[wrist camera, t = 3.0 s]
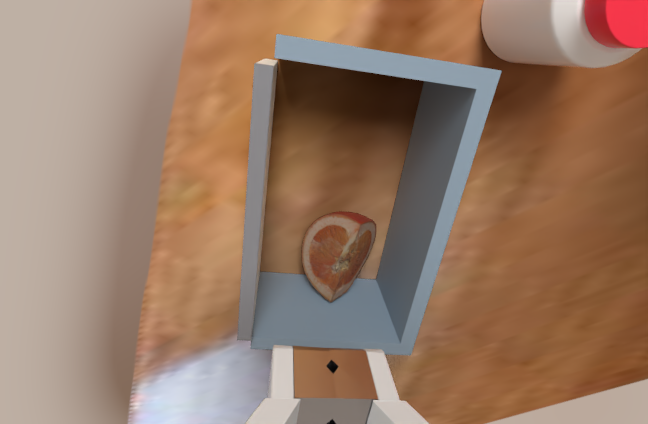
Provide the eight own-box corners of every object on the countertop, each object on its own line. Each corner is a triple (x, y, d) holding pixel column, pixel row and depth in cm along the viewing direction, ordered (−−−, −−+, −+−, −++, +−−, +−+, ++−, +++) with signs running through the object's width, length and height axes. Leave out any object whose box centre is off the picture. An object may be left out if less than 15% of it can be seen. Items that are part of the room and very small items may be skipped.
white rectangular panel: (265, 58, 28) (254, 63, 19) (278, 60, 28) (273, 66, 19) (249, 268, 36) (237, 340, 27) (260, 269, 36) (250, 340, 27)
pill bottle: (579, 42, 30) (726, 39, 20) (488, 77, 30) (586, 92, 20) (574, -67, 26) (747, -137, 17) (472, -26, 27) (580, -69, 17)
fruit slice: (353, 279, 38) (362, 310, 33) (290, 265, 36) (291, 296, 32) (382, 208, 34) (397, 232, 30) (315, 189, 33) (319, 212, 29)
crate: (280, 37, 28) (276, 33, 19) (442, 64, 29) (502, 70, 21) (259, 281, 36) (250, 348, 28) (384, 289, 38) (410, 355, 30)
